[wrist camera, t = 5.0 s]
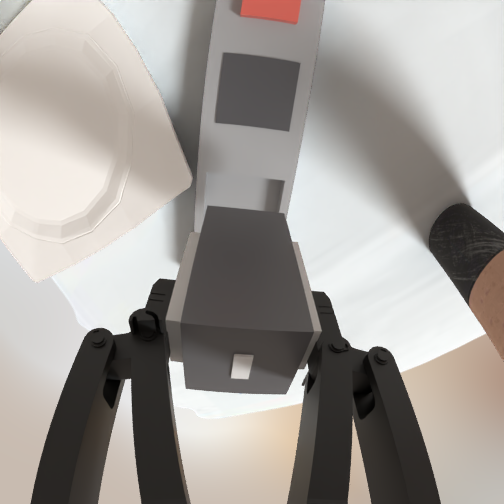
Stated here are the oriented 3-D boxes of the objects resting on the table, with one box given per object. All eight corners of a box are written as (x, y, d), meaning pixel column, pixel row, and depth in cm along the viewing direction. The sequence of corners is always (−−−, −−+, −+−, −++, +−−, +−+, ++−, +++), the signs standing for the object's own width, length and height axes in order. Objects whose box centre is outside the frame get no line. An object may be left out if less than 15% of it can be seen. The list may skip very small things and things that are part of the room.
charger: (207, 205, 17) (179, 324, 9) (284, 213, 17) (314, 334, 9) (204, 267, 19) (185, 390, 12) (271, 273, 19) (286, 396, 12)
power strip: (231, -57, 11) (230, -73, 9) (324, -43, 12) (334, -56, 10) (196, 273, 28) (191, 294, 25) (268, 279, 28) (270, 300, 26)
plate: (47, 279, 28) (37, 294, 26) (-48, 126, 16) (-63, 133, 14) (218, 178, 23) (215, 190, 21) (90, -39, 11) (75, -46, 8)
